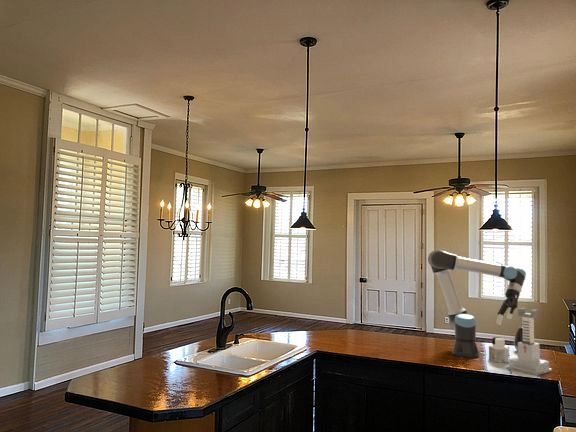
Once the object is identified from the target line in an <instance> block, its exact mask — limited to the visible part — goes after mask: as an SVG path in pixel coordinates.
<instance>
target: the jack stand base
mask: <svg viewBox="0 0 576 432" xmlns="http://www.w3.org/2000/svg"><path fill="white" fill-rule="evenodd" d="M540 352H541V351H540V342H539V343H538V342H534V344H532V345H530V344H529V342H526V341H522V342H518V351H517V357H513V358H509V362H508V365H506V367H505V368H506V369H507V370H512V371H515V372H519V373H525V374H528V375H532V376H540V375H544V374H547V373H550V372H552V371H553V368H551V367H550V361H549V360H546V359H541V358H540V357H541V355H540V354H541V353H540Z"/></svg>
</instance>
